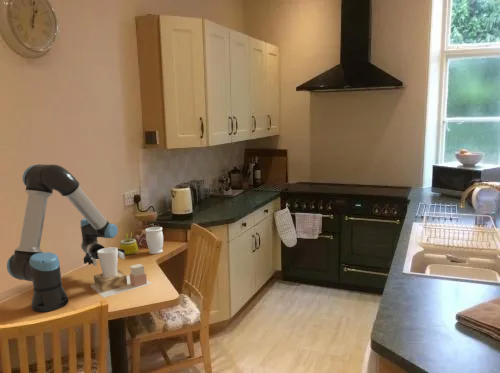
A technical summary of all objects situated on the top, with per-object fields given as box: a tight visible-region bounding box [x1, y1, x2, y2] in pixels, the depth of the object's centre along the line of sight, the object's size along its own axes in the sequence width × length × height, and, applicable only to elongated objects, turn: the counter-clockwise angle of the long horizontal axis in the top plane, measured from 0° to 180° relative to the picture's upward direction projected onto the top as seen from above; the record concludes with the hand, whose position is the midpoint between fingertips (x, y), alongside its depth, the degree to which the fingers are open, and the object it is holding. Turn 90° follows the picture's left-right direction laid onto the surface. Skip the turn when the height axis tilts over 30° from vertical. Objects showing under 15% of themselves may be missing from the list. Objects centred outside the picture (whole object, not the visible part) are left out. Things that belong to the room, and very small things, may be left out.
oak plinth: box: [93, 269, 127, 292], centre depth 213 cm, size 12×12×5 cm
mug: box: [119, 231, 139, 256], centre depth 272 cm, size 13×11×12 cm
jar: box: [144, 226, 164, 255], centre depth 269 cm, size 11×10×15 cm
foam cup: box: [97, 246, 119, 278], centre depth 211 cm, size 10×9×13 cm
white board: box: [90, 274, 153, 299], centre depth 214 cm, size 24×20×2 cm
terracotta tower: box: [129, 263, 148, 287], centre depth 213 cm, size 6×6×9 cm
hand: (110, 259), depth 209 cm, fingers open, 13 cm apart
